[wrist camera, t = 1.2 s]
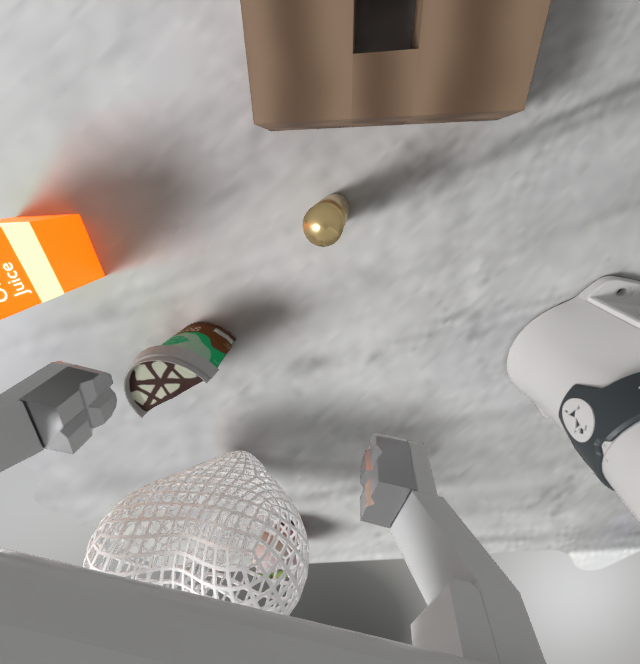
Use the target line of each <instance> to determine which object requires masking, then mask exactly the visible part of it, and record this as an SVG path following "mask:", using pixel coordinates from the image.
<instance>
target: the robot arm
mask: <svg viewBox="0 0 640 664" xmlns="http://www.w3.org/2000/svg"><path fill="white" fill-rule="evenodd" d="M619 289H621V290H620V291H619V292H618V293H617V291H618V290H619ZM507 370H508V374H509V377H510V379H511V381H512V383H513V384H514V385H515V386H516V387H517V388H518V389H519V390H520V391H521V392H523V393H524V394H525V395H526V396H528V397H529V398H530V399H531V400H532V401H533V402H534V403H535V405H536V407H537V409H538V410H539V411H540V412H541V414H542V415H543V416H544V417H546V418H548V419H551V420H552V421H553V422H554V423H555V424H556V425H557V426H558V427H559V428H560V429H561V430H562V431H563V433H564V434H565V435H566V436H567V437H568V438H569V439H570V440H571V442H572V444H573V446H574V448H575V449H576V450H577V452H578V453H579V454H580V456H581V457H582V458H583V460H584V461H585V462H586V463H587V465H588V467H589V469H590V470H591V471H592V472H593V473H594V474H595V475H596V476H597V477H598V478H599V479H600V481H601V482H602V483H603V484H604V485H605V486H607V487H608V488H610V489H611V490H613V491H615V492H616V493H617V494H618V495H619V497H620V498H621V499H622V501H623V502H624V503H625V504H626V506H627V507H628V508H629V510H630V511H631V512H632V513H633V515H634V516H635V517H636V519H637V520H638V521H639V522H640V281H636V280H631V279H626V278H621V277H616V276H605V277H602V278H600V279H598V280H596V281H595V282H594V283H592V284H591V285H590V286H588V287H587V288H586V289H585V290H583V291H582V292H581V293H580V294H579V295H578V296H576V297H575V298H573V299H571V300H569V301H567V302H565V303H562V304H560V305H558V306H556V307H553V308H551V309H549V310H548V311H546V312H544V313H543V314H541V315H539V316H538V317H537V318H535V319H534V320H533V321H531V322H530V323H529V324H528V325H527V326H526V327H525V328H524V329H523V330H522V331H521V332H520V333H519V335H518V336H517V337H516V339H515V340H514V342H513V344H512V346H511V348H510V351H509V354H508V358H507ZM112 384H113V380H112V376H111V374H109V373H106V372H102V371H99V370H95V369H91V368H87V367H83V366H79V365H74V364H70V363H66V362H62V361H56V362H52V363H50V364H48V365H47V366H45V367H43V368H42V369H40V370H39V371H37V372H35V373H34V374H32V375H31V376H29V377H27V378H26V379H24V380H23V381H21V382H19V383H18V384H16V385H15V386H13V387H11V388H10V389H8V390H7V391H5V392H3V393H2V394H0V472H1V471H3V470H5V469H7V468H9V467H11V466H13V465H15V464H17V463H19V462H21V461H23V460H25V459H27V458H29V457H31V456H33V455H35V454H37V453H39V452H41V451H42V450H44V449H43V448H45V449H50V450H55V451H60V452H65V453H70V454H74V453H75V452H76V451H77V450H78V449H79V448H80V447H81V446H82V445H83V444H84V443H85V442H86V441H87V440H88V439H89V438H90V437H91V436H92V433H93V428H96V427H98V426H100V425H103V424H104V423H105V422H106V421H107V420H108V419H109V418H110V417H111V416H112V414H113V412H114V410H115V408H116V403H117V398H116V394H115V393H114V391H113V390H112V389H111V388H110V386H111V385H112ZM369 444H370V449H368V450H366V451H365V454H364V457H363V460H362V465H361V474H360V483H361V485H362V486H363V488H364V490H363V492H362V494H361V497H360V521H364V522H368V523H372V524H376V525H380V526H383V527H387V528H390V532H391V534H392V536H393V538H394V540H395V542H396V544H397V546H398V548H399V550H400V551H401V553H402V555H403V557H404V559H405V561H406V563H407V565H408V567H409V569H410V571H411V573H412V575H413V577H414V579H415V581H416V583H417V585H418V587H419V589H420V591H421V593H422V595H423V597H424V599H425V601H426V603H427V605H428V606H427V607H426V608H425V610H424V611H423V612H422V613H421V614H420V615H419V616H418V617H417V618H416V619H415V620H414V622H413V623H412V624H411V633H412V642H413V645H409V644H405V643H401V642H397V641H393V640H388V639H384V638H380V637H376V636H371V635H367V634H363V633H359V632H354V631H350V630H346V629H342V628H338V627H333V626H329V625H325V624H321V623H317V622H312V621H308V620H304V619H300V618H295V617H291V616H287V615H283V614H279V613H274V612H270V611H266V610H262V609H257V608H253V607H249V606H245V605H241V604H236V603H232V602H227V601H224V600H219V599H215V598H211V597H207V596H203V595H198V594H194V593H190V592H186V591H181V590H177V589H173V588H169V587H165V586H160V585H156V584H152V583H148V582H143V581H139V580H135V579H131V578H127V577H122V576H118V575H114V574H110V573H105V572H101V571H97V570H93V569H88V568H84V567H80V566H76V565H72V564H67V563H63V562H59V561H55V560H50V559H46V558H42V557H38V556H34V555H29V554H25V553H20V552H17V551H12V550H8V549H3V548H0V664H546V662H545V659H544V657H543V654H542V652H541V649H540V646H539V643H538V641H537V638H536V635H535V633H534V630H533V628H532V624H531V622H530V620H529V616H528V614H527V611H526V608H525V606H524V603H523V600H522V598H521V595H520V593H519V591H518V590H517V589H516V587H515V586H514V585H513V584H512V582H511V581H510V580H509V579H508V577H507V576H506V575H505V574H504V572H503V571H502V570H501V569H500V567H499V566H498V565H497V564H496V562H494V560H493V559H492V558H491V556H490V555H489V554H488V553H487V551H486V550H485V549H484V548H483V546H482V545H481V544H480V543H479V541H478V540H477V539H476V538H475V536H474V535H473V534H472V533H471V531H470V530H469V529H468V528H467V526H466V525H465V524H464V523H463V521H462V520H461V519H460V518H459V516H458V515H457V514H456V513H455V511H454V510H453V509H452V508H451V506H450V505H449V504H448V503H447V502H446V500H445V499H444V498H443V497H440V496H438V494H437V490H436V486H435V482H434V478H433V474H432V470H431V465H430V461H429V457H428V453H427V449H426V446H425V445H424V443H419V442H415V441H410V440H405V439H401V438H396V437H392V436H387V435H383V434H378V433H373V434H372V436H371V438H370V441H369Z"/></svg>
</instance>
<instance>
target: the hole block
mask: <svg viewBox="0 0 640 664" xmlns="http://www.w3.org/2000/svg"><path fill="white" fill-rule="evenodd" d="M240 2H241V11H242V20H243V29H244V38H245V48H246V57H247V66H248V75H249V84H250V93H251V102H252V111H253V120H254V124H255V125H258V126H260V127H263V128H265V129H268V130H270V131H280V130H300V129H321V128H341V127H362V126H383V125H403V124H424V123H444V122H465V121H486V120H498V119H501V118H504V117H506V116H509V115H512V114H515V113H517V112H520V111H523V110H524V109H525V104H526V100H527V96H528V92H529V88H530V84H531V80H532V76H533V72H534V68H535V64H536V60H537V56H538V52H539V48H540V43H541V39H542V35H543V31H544V27H545V23H546V19H547V15H548V11H549V7H550V3H551V0H415V11H414V22H413V33H412V44H411V49H408V50H395V51H383V52H370V53H358V54H355V41H356V0H240Z"/></svg>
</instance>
